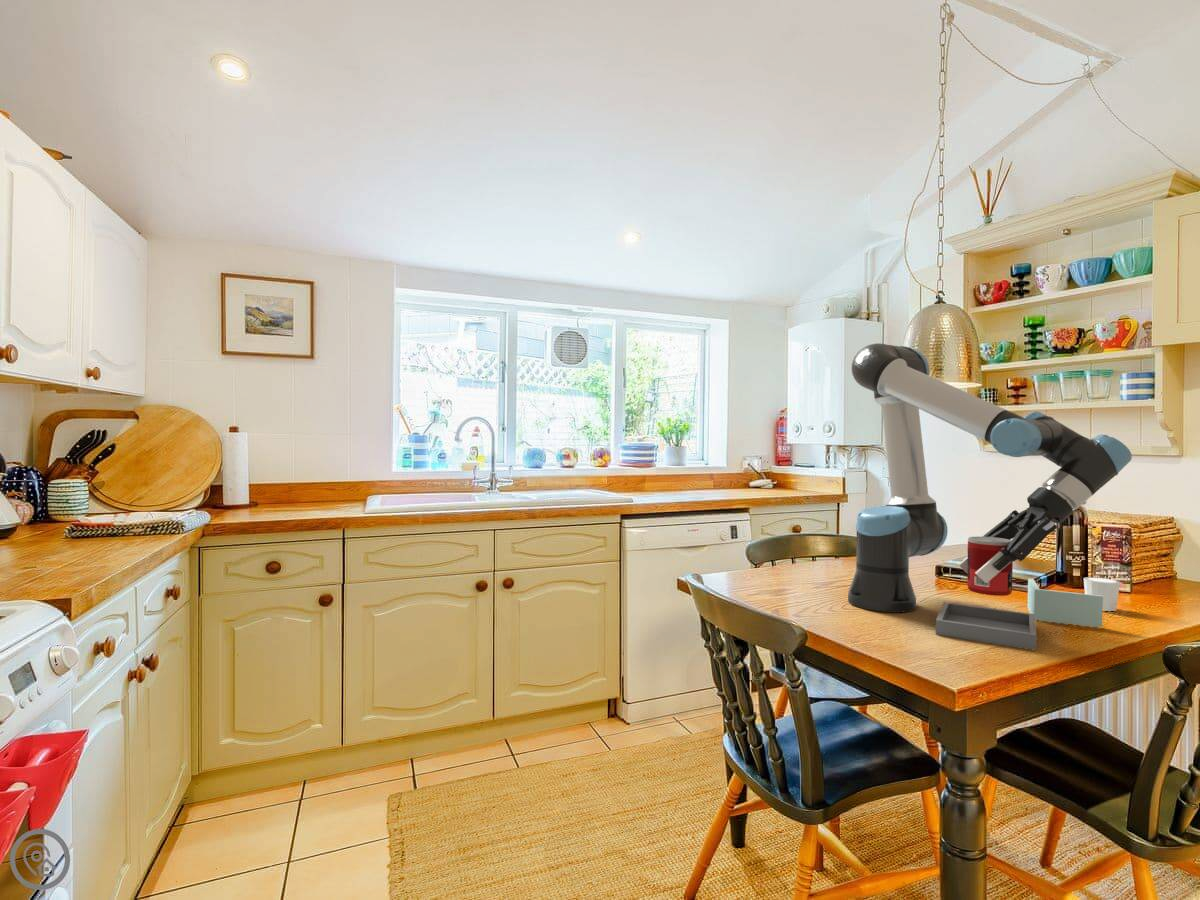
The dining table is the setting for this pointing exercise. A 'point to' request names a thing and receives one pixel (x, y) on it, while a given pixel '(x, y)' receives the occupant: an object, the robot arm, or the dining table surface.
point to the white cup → (1103, 591)
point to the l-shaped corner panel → (1064, 606)
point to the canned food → (980, 555)
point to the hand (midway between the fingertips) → (971, 573)
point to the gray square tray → (987, 625)
